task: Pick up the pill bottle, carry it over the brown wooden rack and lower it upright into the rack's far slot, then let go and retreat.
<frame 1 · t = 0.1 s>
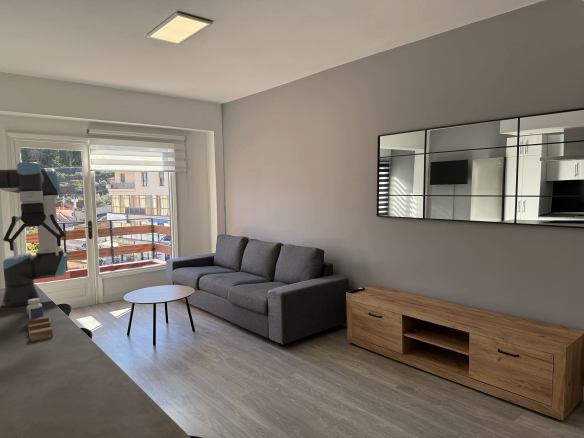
hand: (37, 257, 158), 28 cm above the table, fingers open, 13 cm apart
pill bottle: (36, 323, 165), on the table
brown wooden rack: (39, 331, 154), on the table
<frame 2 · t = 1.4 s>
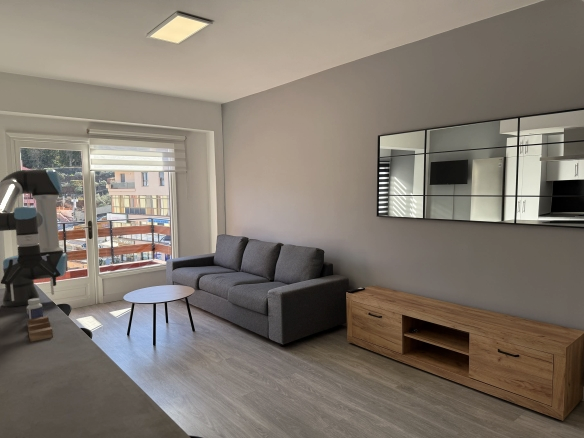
hand: (33, 297, 164), 11 cm above the table, fingers open, 13 cm apart
nothing on the table moved.
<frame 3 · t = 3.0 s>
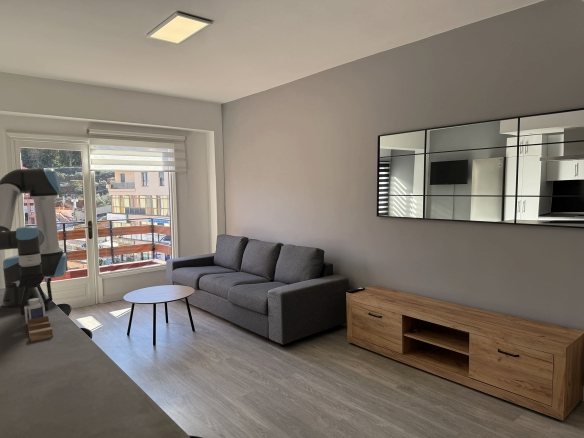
hand: (35, 320, 165), 1 cm above the table, fingers closed on pill bottle, 5 cm apart
pill bottle: (36, 323, 165), on the table, touching gripper
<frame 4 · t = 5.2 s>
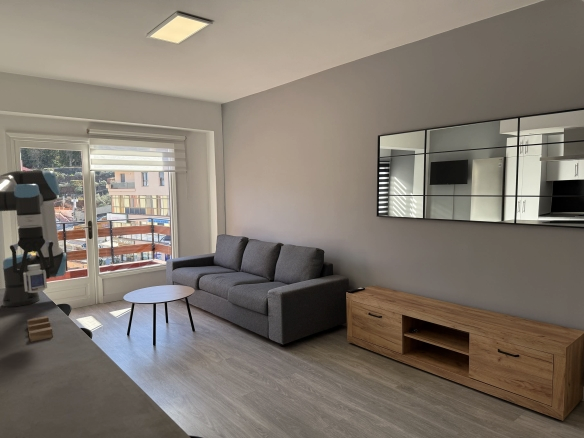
hand: (36, 289, 149), 17 cm above the table, fingers closed on pill bottle, 5 cm apart
pill bottle: (36, 291, 149), point 16 cm above the table, touching gripper
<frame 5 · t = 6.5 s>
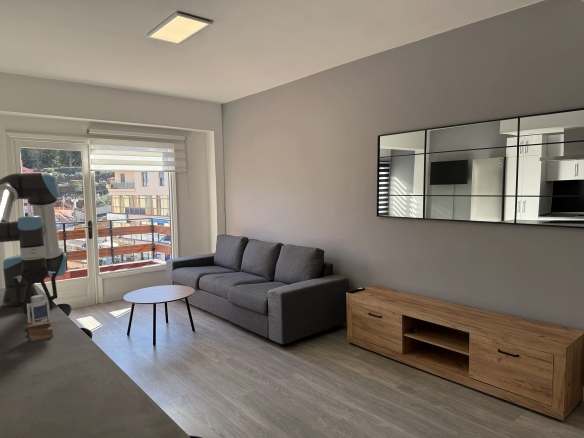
hand: (39, 319, 150), 6 cm above the table, fingers closed on pill bottle, 5 cm apart
pill bottle: (39, 322, 150), point 5 cm above the table, touching gripper
when the fingers open (2 cm above the table, at t = 7.6 s): pill bottle drops 1 cm, resting in brown wooden rack.
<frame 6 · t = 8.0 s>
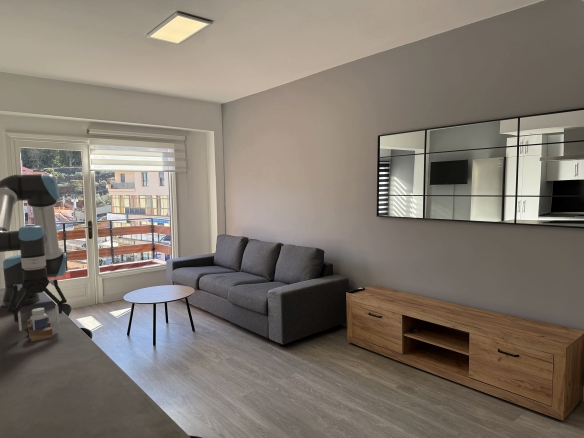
hand: (39, 326, 150), 3 cm above the table, fingers open, 11 cm apart
pill bottle: (40, 335, 150), resting in brown wooden rack
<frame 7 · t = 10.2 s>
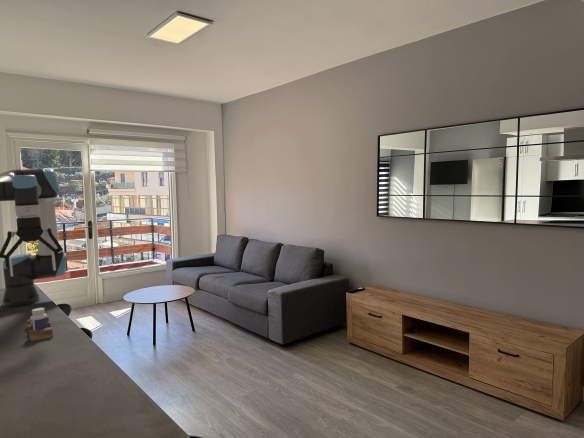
hand: (33, 272, 153), 23 cm above the table, fingers open, 13 cm apart
nothing on the table moved.
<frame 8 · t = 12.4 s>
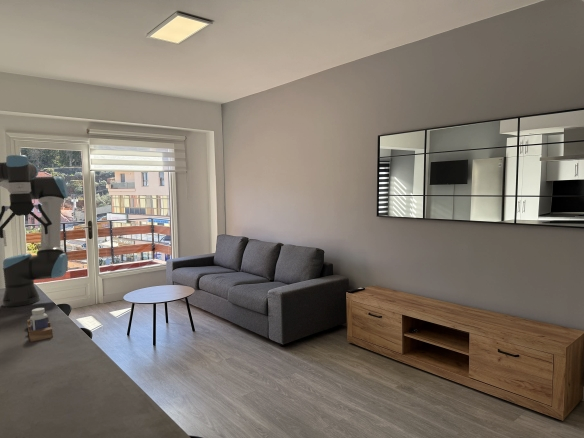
hand: (25, 244, 169), 32 cm above the table, fingers open, 13 cm apart
nothing on the table moved.
at the end: pill bottle 0.1 cm from the target spot, resting in brown wooden rack; pill bottle tilted 0°; the gripper is holding nothing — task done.
